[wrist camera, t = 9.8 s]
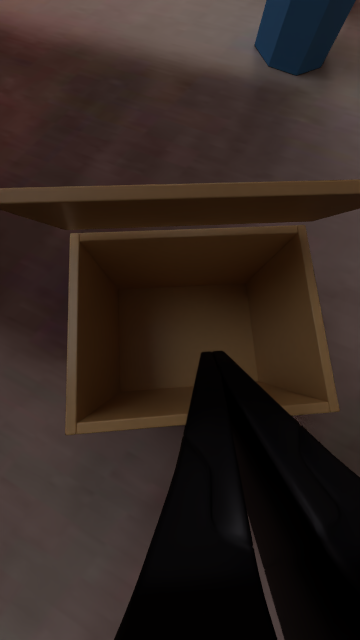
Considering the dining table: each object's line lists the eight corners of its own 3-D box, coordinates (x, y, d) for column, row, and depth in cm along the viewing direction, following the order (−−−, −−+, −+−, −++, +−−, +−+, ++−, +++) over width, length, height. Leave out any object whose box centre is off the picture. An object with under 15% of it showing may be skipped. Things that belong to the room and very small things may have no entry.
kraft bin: (114, 286, 19) (69, 233, 11) (248, 280, 20) (305, 224, 12) (115, 397, 18) (64, 435, 9) (261, 385, 18) (340, 411, 10)
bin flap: (65, 230, 10) (63, 221, 10) (312, 221, 11) (313, 213, 11) (-18, 204, 6) (-23, 188, 6) (419, 192, 6) (423, 177, 6)
